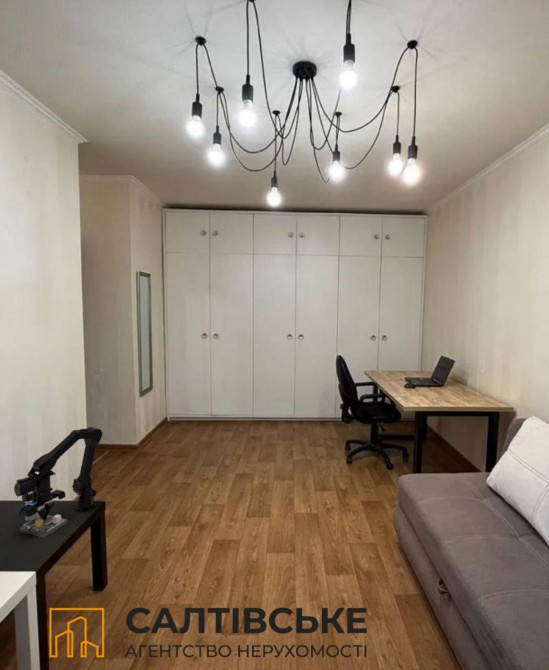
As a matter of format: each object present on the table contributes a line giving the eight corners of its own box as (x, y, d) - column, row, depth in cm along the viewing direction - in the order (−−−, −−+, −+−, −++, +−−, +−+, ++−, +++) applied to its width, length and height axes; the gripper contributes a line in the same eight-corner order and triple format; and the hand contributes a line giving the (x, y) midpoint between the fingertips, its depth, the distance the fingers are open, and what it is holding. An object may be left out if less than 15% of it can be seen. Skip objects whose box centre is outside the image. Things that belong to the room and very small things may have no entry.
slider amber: (40, 523, 163) (40, 517, 163) (44, 524, 162) (44, 518, 162) (34, 527, 160) (34, 521, 160) (38, 528, 159) (38, 522, 159)
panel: (44, 516, 171) (44, 511, 171) (67, 522, 167) (67, 517, 167) (19, 531, 160) (19, 525, 160) (44, 537, 156) (43, 532, 156)
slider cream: (57, 519, 166) (57, 513, 166) (62, 520, 166) (61, 514, 165) (52, 523, 163) (52, 517, 163) (56, 524, 163) (56, 518, 163)
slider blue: (42, 515, 169) (42, 510, 169) (46, 516, 168) (46, 511, 168) (36, 519, 166) (36, 513, 166) (40, 520, 166) (40, 514, 165)
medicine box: (29, 512, 175) (29, 495, 175) (40, 510, 177) (40, 493, 176) (24, 521, 168) (24, 503, 167) (36, 519, 169) (35, 501, 169)
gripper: (47, 475, 174) (48, 507, 175) (8, 493, 156) (9, 529, 157) (66, 479, 170) (66, 511, 171) (28, 498, 153) (29, 534, 153)
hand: (43, 521), depth 163 cm, fingers closed
